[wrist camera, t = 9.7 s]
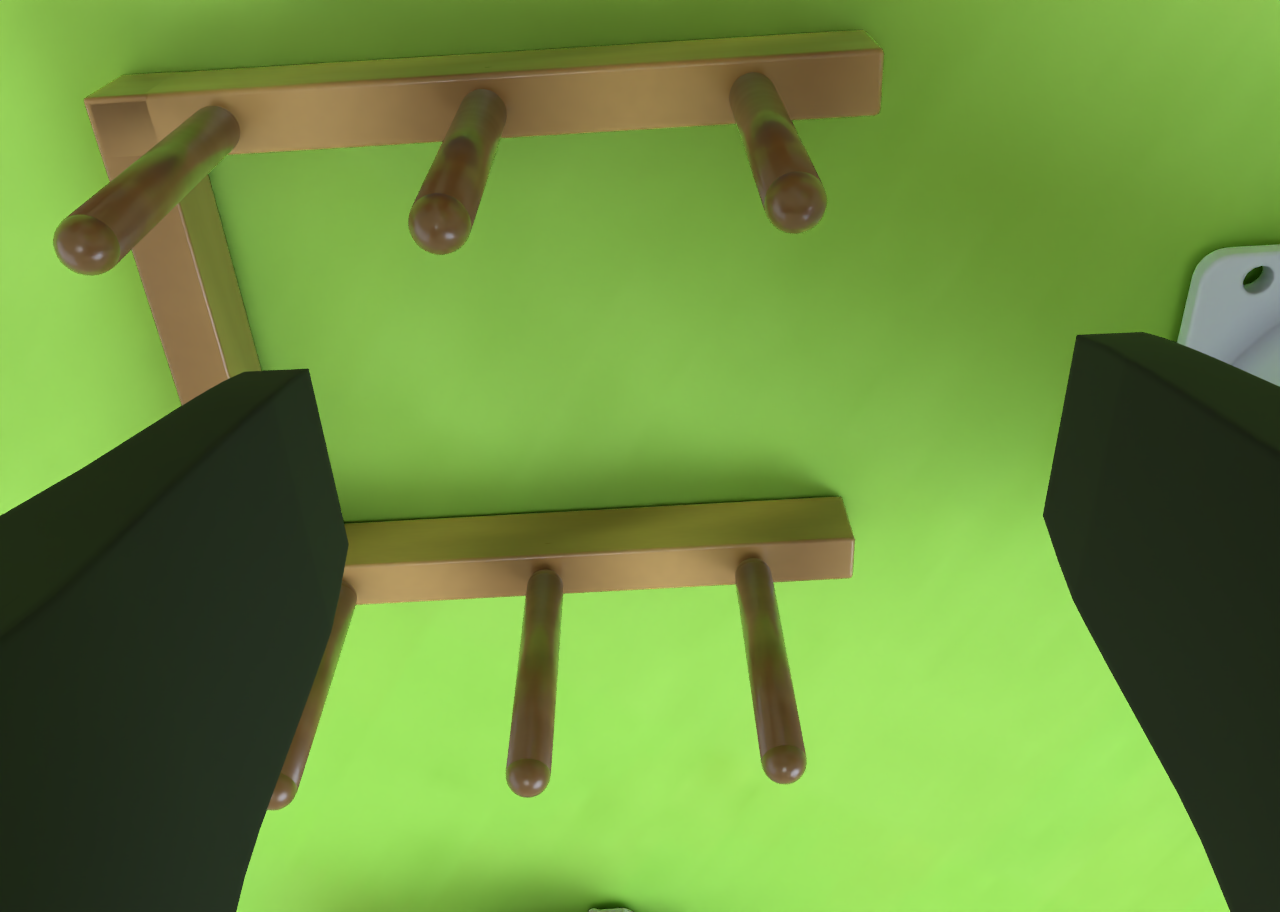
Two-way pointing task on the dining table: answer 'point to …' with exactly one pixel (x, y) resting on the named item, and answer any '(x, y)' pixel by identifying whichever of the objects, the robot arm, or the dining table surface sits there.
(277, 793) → the drying rack
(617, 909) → the egg carton
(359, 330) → the dining table surface
